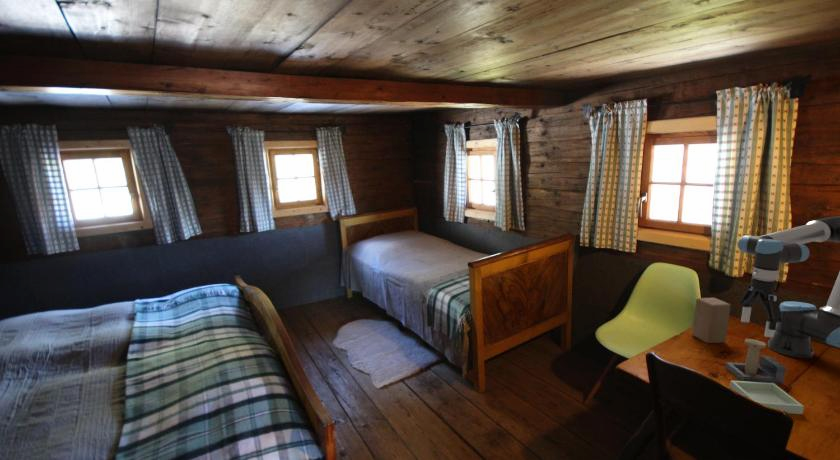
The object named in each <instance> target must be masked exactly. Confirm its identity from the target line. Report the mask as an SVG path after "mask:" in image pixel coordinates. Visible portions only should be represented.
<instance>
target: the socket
mask: <svg viewBox="0 0 840 460" xmlns="http://www.w3.org/2000/svg"><path fill="white" fill-rule="evenodd" d="M745 363H746V362H729V361H727V362H726V361H725V369H727V370H728V371H729V372H730V373H731V374H732V375H734V376H735V377H736V378H737V379H738V380H739V381H748V382H763V383H774V384H775V385H777V384H781V385H783V384H784V382H785V375H786V371H787V367H786V366H785V365H783V364H782V363H780V362H778V361H777V360H775V359H774V358H773V357H771V356H770V355H760V357H759V364H758V370H757V372H756V374H758V375H756V374H755V375H745V372H743V371H745Z"/></svg>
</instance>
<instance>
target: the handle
mask: <svg viewBox="0 0 840 460" xmlns="http://www.w3.org/2000/svg"><path fill="white" fill-rule="evenodd" d="M744 344H745V345H747V346H748V350H747V354H746V359H745V362H744V363H745V370H744V374H745V375H756V374H757V370H758V365H759V364H760V352H761V350H762V349H765V348H766V346H767V344H766V342H764V341H760V340H757V339H752V338H744Z"/></svg>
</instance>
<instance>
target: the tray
mask: <svg viewBox="0 0 840 460" xmlns="http://www.w3.org/2000/svg"><path fill="white" fill-rule="evenodd" d="M730 388H731V389H732V391H733V390H734V391H736V392H738V393H740V394H741V395H743V396H746V397H748V398H749V399H751V400H753V401H755V402H758V403H760V404H762V405H764V406H767V407H770V408H774V409H779V410H782V411H785V412H787V413H786V414H794V415H803V412H804V407H805V406H804V405H803V404H801V403H800V402H799V401H798V400H796V399H795V398H794V397H793V396H791V395H789V394H788V393H787V392H786V391H785V390H783V389H782V388H781V387H779V385H777V384H774V383H763V382H748V381H741V380H730V381H729V389H730ZM731 389H730V390H731ZM734 391H733V392H734Z"/></svg>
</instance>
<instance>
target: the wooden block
mask: <svg viewBox="0 0 840 460" xmlns="http://www.w3.org/2000/svg"><path fill="white" fill-rule="evenodd" d="M695 300H696V301H695V309H694V316H693V323H692V331H691V335H692V336H693V337H695V338H697V339H699V340H700V341H702V342H704V343H706V344H721V343H722V344H723V343H725V342H726V340H727V334H728V333H727V332H728V326H729V319H730V313H731V307H732V305H731V303H728V302H726V301H723V300H722V299H718V298H716V297H700V298H698V297H697V298H696V299H695Z"/></svg>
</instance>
